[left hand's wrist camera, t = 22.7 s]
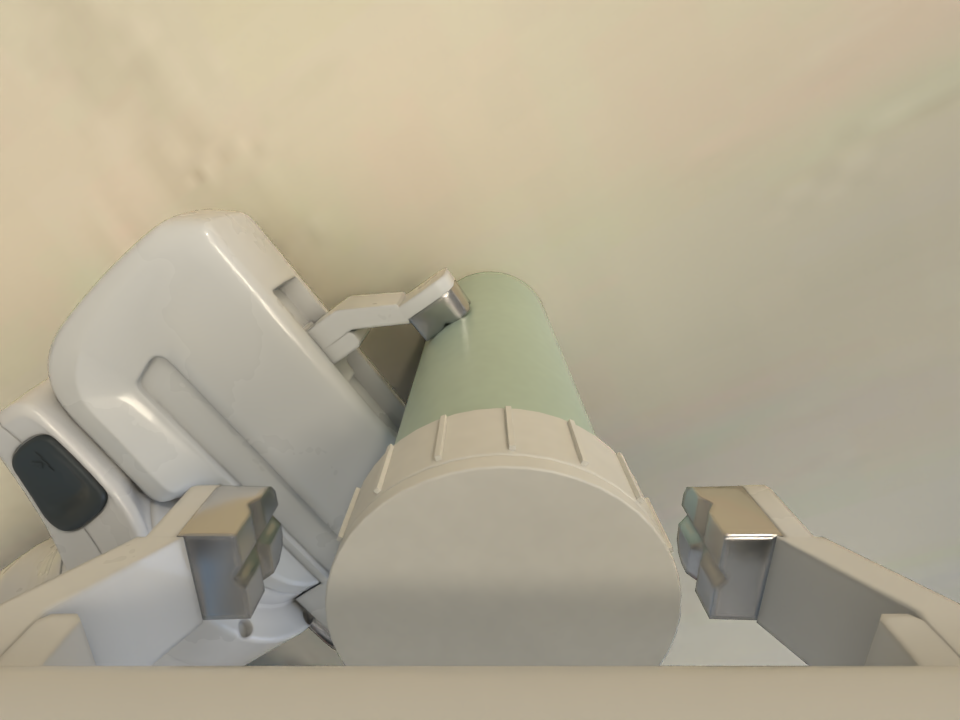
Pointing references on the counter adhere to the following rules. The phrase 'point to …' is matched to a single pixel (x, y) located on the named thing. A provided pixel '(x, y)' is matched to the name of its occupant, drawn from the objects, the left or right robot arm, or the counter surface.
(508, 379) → the jar
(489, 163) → the counter surface
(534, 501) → the lid
